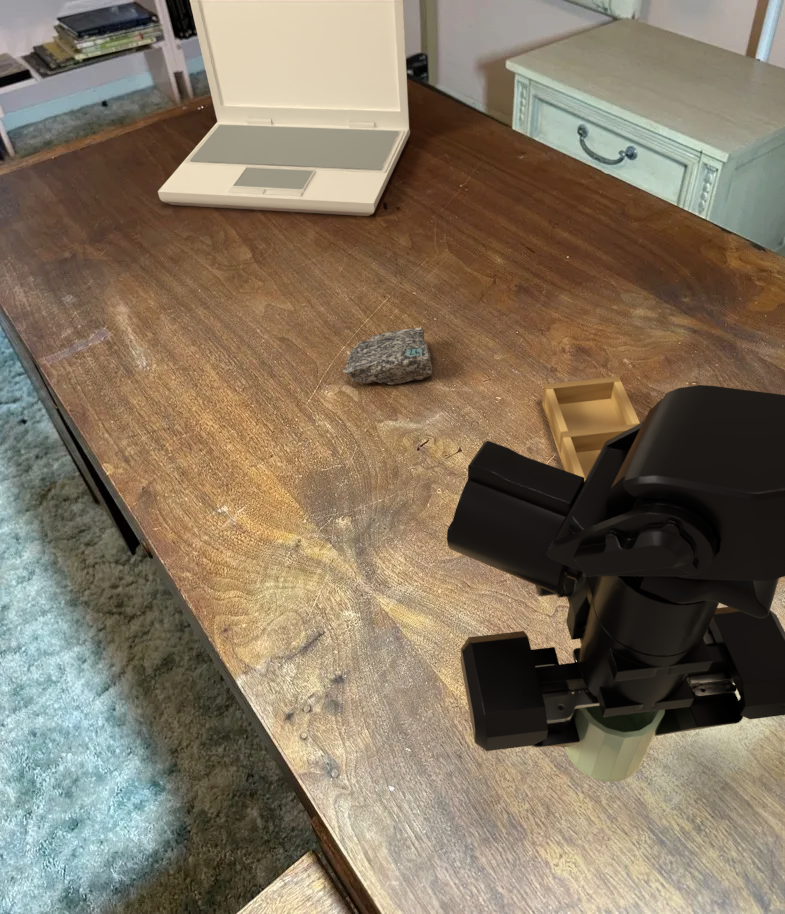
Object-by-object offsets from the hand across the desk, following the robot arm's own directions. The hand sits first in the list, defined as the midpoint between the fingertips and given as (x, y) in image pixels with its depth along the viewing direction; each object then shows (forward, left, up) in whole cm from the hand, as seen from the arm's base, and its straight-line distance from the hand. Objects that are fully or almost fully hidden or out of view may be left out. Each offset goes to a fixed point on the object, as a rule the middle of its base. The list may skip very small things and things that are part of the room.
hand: (606, 734), depth 50 cm
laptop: (+102, +22, -9) cm, 105 cm away
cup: (0, 0, -1) cm, 1 cm away
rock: (+49, +10, -9) cm, 51 cm away
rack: (+29, -10, -9) cm, 32 cm away
